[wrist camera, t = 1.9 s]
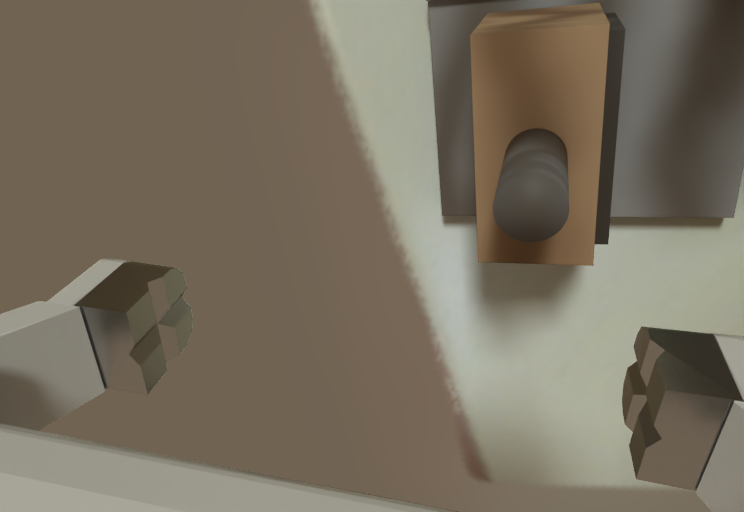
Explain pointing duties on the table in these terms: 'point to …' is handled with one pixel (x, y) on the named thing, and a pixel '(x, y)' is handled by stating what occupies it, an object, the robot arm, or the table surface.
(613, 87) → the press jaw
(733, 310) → the table surface
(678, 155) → the frame
